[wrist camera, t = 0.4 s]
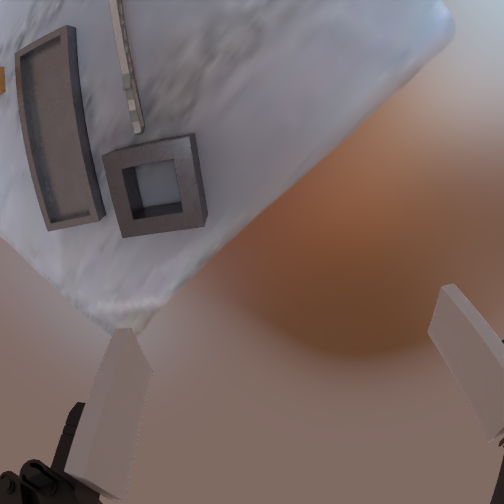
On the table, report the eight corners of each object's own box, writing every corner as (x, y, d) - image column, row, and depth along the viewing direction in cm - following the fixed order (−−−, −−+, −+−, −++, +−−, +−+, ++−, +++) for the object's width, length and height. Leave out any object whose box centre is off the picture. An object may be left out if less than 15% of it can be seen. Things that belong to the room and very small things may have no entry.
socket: (115, 149, 32) (101, 155, 28) (194, 133, 32) (189, 136, 28) (133, 224, 36) (122, 237, 33) (207, 214, 36) (204, 226, 33)
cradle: (24, 54, 24) (14, 53, 22) (75, 27, 23) (66, 24, 21) (55, 224, 36) (47, 231, 34) (106, 214, 36) (99, 221, 34)
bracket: (137, -42, 18) (108, -45, 13) (165, 96, 36) (151, 132, 30) (112, -34, 18) (77, -32, 13) (143, 100, 36) (125, 137, 30)
